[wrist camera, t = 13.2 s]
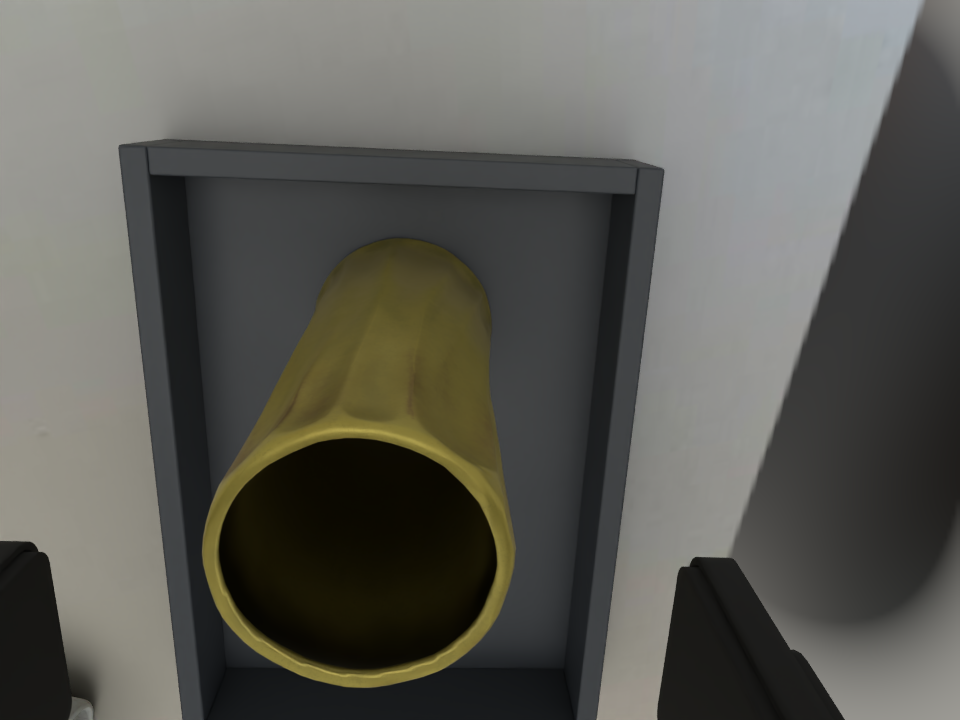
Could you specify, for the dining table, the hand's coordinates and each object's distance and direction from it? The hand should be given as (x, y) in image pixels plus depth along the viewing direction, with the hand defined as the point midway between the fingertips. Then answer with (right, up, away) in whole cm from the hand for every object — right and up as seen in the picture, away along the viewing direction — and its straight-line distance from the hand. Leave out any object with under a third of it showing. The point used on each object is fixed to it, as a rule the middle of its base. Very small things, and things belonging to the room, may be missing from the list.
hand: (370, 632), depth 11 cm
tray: (-1, +1, +17) cm, 17 cm away
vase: (-1, +5, +15) cm, 16 cm away
